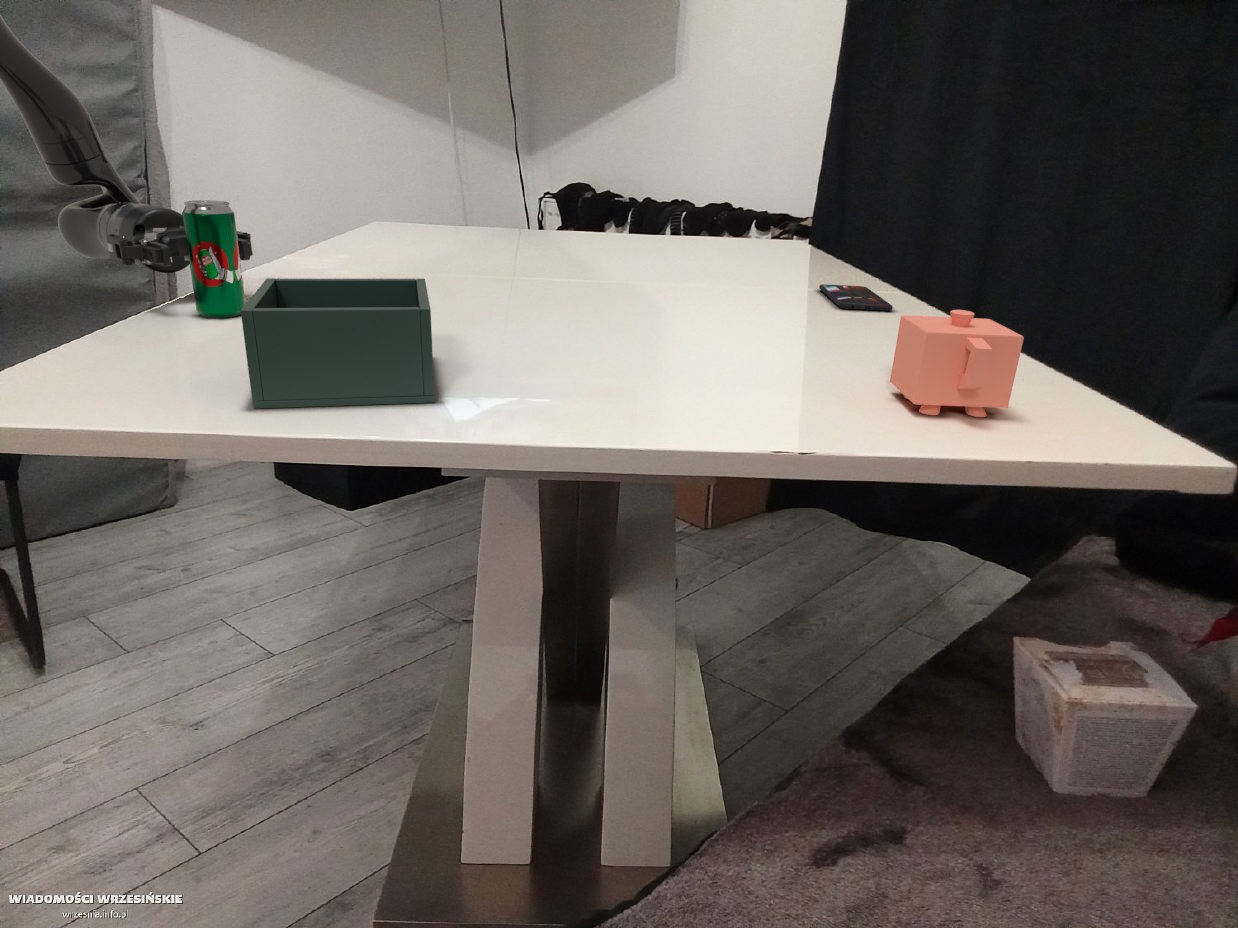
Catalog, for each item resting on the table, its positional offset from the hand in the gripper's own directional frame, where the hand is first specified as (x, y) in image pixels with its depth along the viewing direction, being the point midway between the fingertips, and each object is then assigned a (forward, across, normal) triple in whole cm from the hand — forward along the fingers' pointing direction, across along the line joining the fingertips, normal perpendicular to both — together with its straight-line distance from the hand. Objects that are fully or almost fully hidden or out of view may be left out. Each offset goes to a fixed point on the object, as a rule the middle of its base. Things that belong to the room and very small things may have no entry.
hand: (208, 253), depth 91 cm
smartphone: (+41, +72, +6) cm, 83 cm away
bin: (+33, -3, +7) cm, 34 cm away
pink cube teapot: (+70, +33, +7) cm, 78 cm away
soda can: (+1, 0, +7) cm, 7 cm away
